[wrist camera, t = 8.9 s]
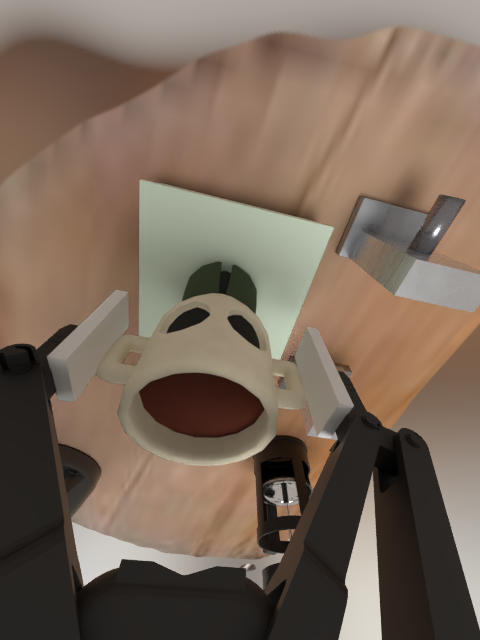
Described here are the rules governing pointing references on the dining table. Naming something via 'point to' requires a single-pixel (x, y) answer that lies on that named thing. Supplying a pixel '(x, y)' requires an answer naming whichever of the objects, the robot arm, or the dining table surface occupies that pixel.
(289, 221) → the stand
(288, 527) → the french press
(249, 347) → the character mug
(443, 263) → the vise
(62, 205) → the dining table surface
